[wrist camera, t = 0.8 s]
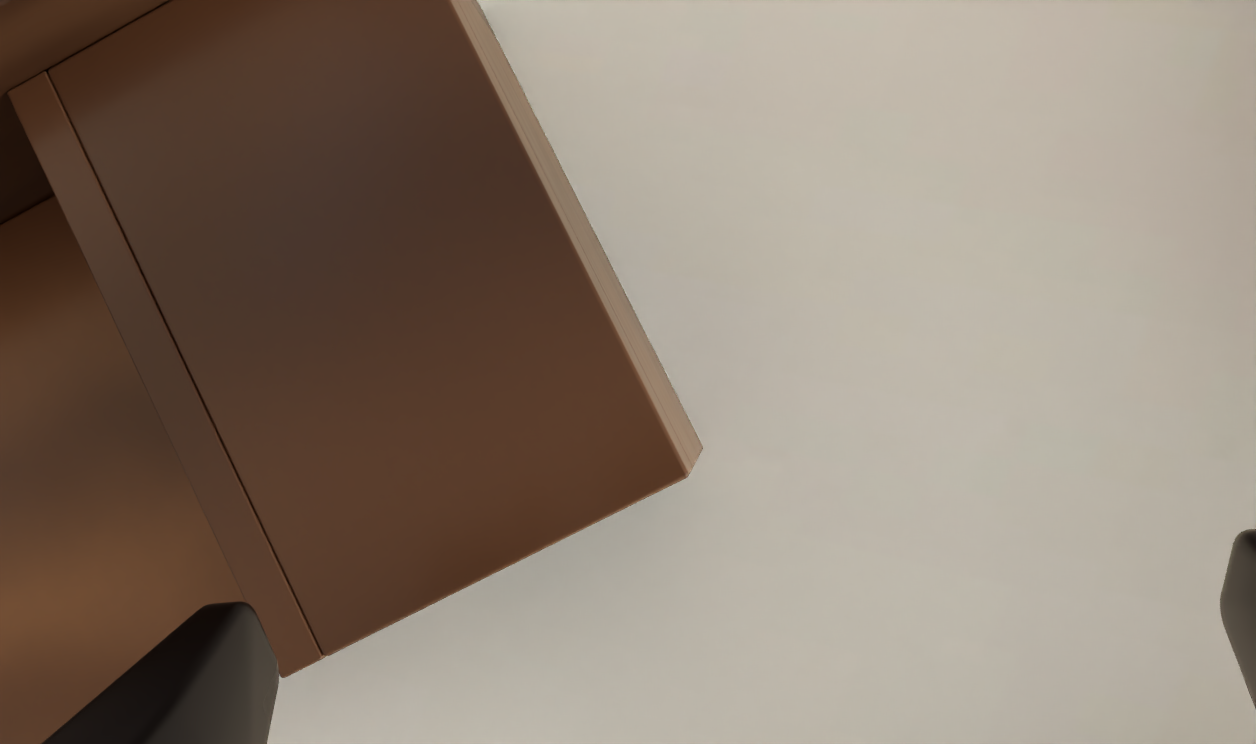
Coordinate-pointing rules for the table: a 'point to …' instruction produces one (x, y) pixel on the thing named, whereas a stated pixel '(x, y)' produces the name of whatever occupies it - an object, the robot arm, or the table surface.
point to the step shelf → (288, 331)
